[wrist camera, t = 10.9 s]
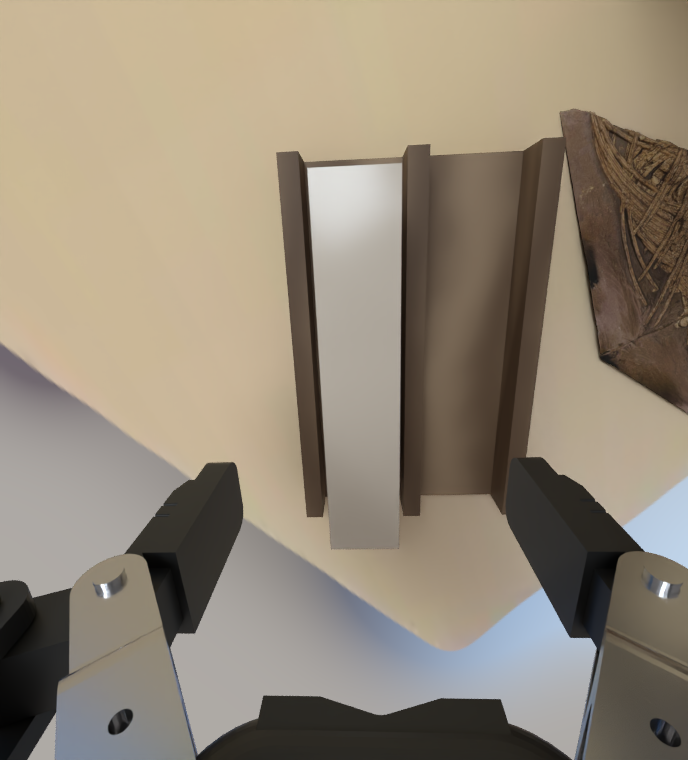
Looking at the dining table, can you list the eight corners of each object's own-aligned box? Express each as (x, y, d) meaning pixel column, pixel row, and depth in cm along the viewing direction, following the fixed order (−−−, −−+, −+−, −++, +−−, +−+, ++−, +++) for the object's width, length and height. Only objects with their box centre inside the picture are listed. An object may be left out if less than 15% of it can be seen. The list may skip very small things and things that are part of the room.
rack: (536, 154, 23) (566, 137, 20) (501, 486, 31) (518, 514, 27) (287, 166, 24) (276, 152, 21) (312, 489, 31) (306, 517, 28)
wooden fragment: (792, 389, 28) (809, 393, 27) (645, 459, 30) (655, 466, 29) (672, 35, 22) (688, 25, 21) (498, 157, 24) (505, 152, 23)
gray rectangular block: (386, 193, 23) (402, 163, 16) (387, 473, 30) (398, 548, 22) (322, 196, 23) (307, 167, 16) (337, 474, 30) (330, 549, 22)
